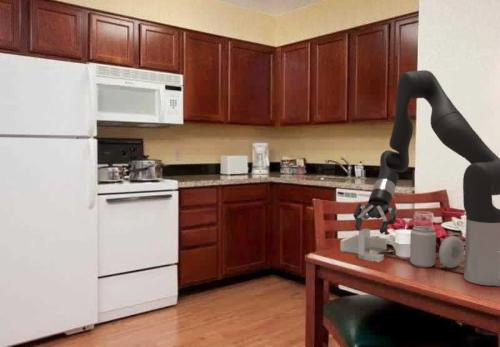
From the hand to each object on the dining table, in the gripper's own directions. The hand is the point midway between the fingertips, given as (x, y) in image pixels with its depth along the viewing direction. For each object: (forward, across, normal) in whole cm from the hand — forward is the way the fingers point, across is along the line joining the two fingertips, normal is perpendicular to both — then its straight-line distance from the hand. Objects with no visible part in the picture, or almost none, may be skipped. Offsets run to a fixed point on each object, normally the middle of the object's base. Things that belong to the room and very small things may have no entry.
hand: (369, 230), depth 145 cm
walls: (+3, -4, +9) cm, 10 cm away
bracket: (+9, +2, +3) cm, 10 cm away
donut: (+5, +26, +8) cm, 28 cm away
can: (+6, +18, +6) cm, 20 cm away
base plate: (+3, -4, +9) cm, 10 cm away
